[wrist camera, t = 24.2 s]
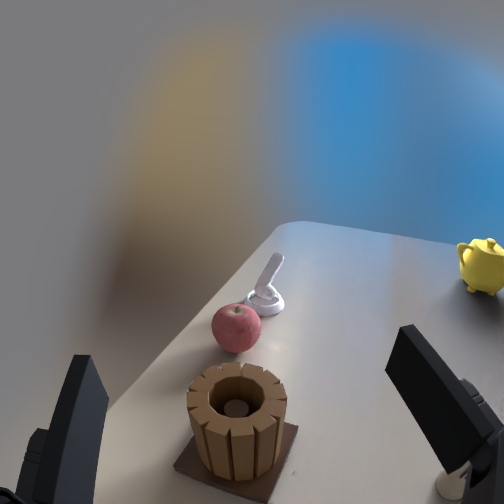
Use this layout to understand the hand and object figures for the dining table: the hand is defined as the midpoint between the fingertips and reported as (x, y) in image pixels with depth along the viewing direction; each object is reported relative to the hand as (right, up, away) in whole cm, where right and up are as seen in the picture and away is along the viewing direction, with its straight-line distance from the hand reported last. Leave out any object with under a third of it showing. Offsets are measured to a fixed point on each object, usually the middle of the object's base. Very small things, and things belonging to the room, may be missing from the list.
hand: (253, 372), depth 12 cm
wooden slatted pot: (-2, -17, +19) cm, 25 cm away
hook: (+2, -5, +48) cm, 49 cm away
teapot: (+57, -4, +52) cm, 78 cm away
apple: (-3, -10, +37) cm, 39 cm away
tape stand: (-2, -19, +19) cm, 27 cm away
